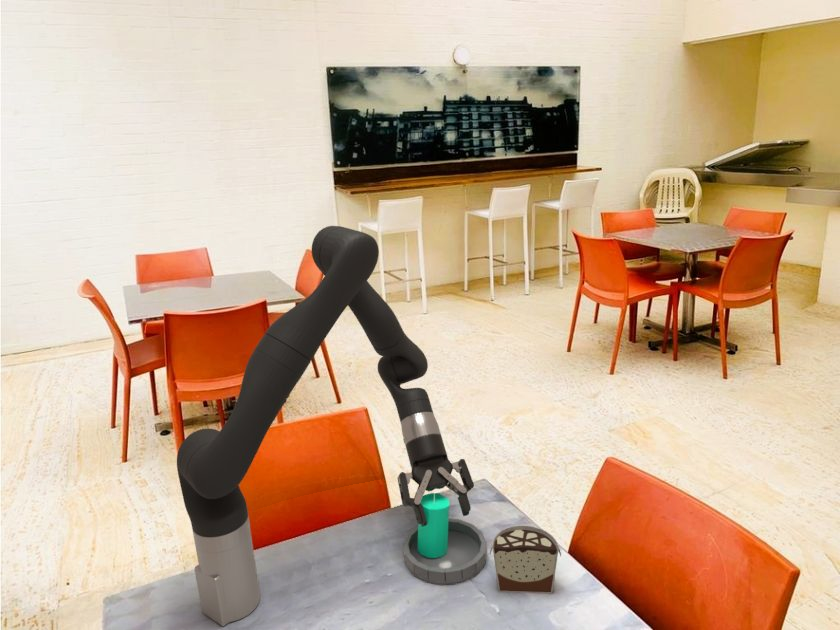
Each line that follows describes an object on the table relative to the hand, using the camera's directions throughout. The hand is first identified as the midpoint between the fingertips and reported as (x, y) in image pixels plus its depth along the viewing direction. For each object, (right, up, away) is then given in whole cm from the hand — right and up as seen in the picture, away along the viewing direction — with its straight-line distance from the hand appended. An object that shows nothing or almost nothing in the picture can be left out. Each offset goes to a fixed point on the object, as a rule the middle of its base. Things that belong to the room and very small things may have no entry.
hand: (445, 520), depth 113 cm
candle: (-2, -7, +4) cm, 9 cm away
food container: (+14, -10, -4) cm, 18 cm away
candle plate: (0, -8, +4) cm, 9 cm away
